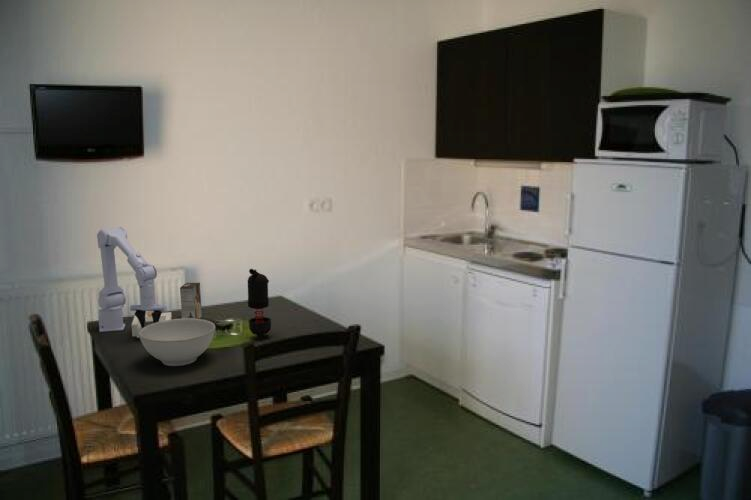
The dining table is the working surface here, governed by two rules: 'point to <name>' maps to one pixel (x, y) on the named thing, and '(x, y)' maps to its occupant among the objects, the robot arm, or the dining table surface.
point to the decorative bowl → (177, 340)
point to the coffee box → (191, 300)
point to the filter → (258, 303)
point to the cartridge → (144, 326)
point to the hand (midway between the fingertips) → (149, 328)
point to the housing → (149, 318)
